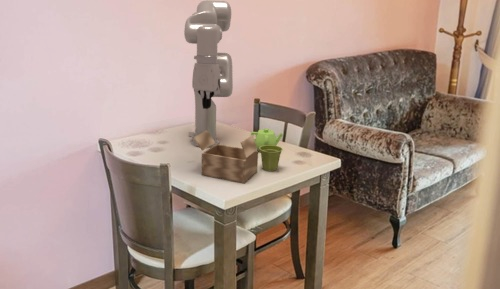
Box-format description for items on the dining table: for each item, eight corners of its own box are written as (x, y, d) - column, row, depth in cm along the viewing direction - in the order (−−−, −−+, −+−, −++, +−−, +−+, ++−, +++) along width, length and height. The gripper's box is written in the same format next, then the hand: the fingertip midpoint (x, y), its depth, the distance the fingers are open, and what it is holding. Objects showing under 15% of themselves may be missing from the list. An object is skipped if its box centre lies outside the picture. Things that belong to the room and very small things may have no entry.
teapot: (265, 155, 215) (267, 134, 212) (247, 149, 222) (248, 128, 219) (283, 150, 223) (284, 129, 220) (264, 144, 230) (265, 124, 227)
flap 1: (203, 150, 188) (202, 150, 188) (215, 142, 197) (214, 143, 197) (194, 137, 188) (193, 137, 188) (207, 130, 197) (206, 130, 197)
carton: (201, 175, 190) (201, 153, 187) (216, 165, 201) (216, 144, 198) (244, 183, 183) (245, 160, 181) (257, 172, 195) (258, 150, 192)
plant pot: (257, 164, 204) (258, 144, 201) (279, 164, 205) (280, 144, 202) (259, 172, 195) (260, 152, 192) (283, 172, 196) (284, 152, 193)
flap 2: (256, 149, 191) (257, 149, 191) (245, 157, 182) (246, 157, 181) (251, 135, 190) (252, 134, 190) (240, 142, 181) (241, 142, 180)
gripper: (184, 59, 182) (184, 107, 188) (220, 63, 177) (219, 112, 182) (194, 57, 189) (194, 103, 194) (229, 60, 183) (228, 108, 189)
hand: (206, 108), depth 188 cm, fingers closed
